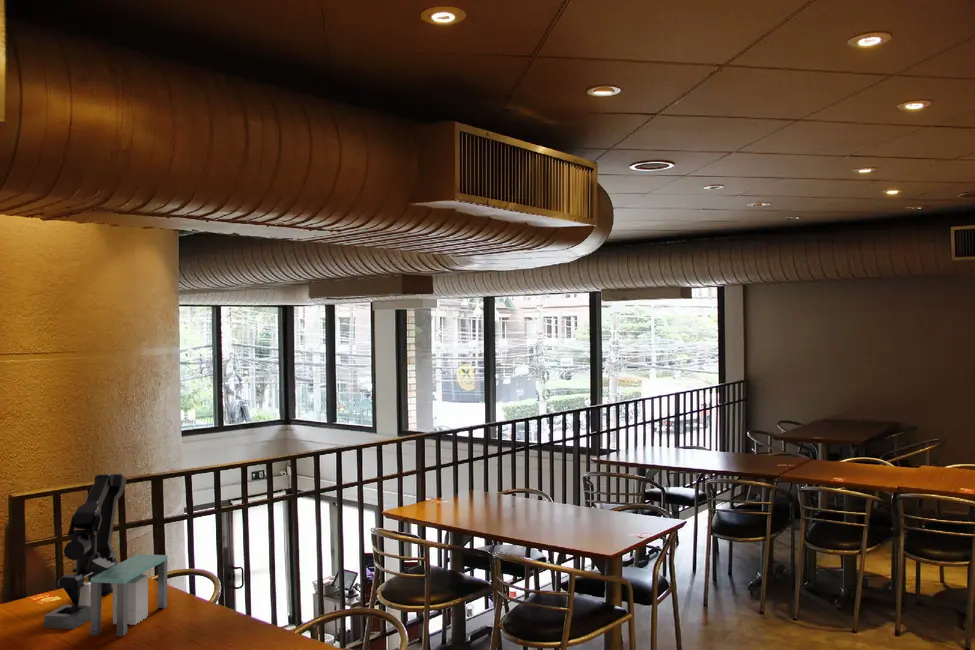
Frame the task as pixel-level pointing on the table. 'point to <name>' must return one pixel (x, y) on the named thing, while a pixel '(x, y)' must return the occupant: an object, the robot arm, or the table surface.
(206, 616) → the table surface
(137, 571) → the miniature teal stool
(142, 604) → the supplement box
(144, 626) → the table surface
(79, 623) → the socket
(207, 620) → the table surface
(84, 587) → the peg
